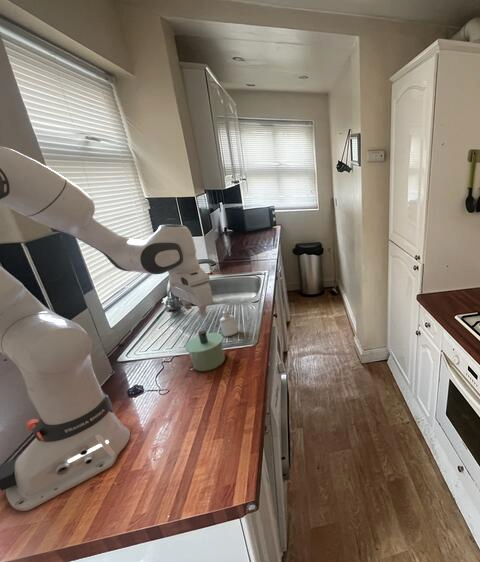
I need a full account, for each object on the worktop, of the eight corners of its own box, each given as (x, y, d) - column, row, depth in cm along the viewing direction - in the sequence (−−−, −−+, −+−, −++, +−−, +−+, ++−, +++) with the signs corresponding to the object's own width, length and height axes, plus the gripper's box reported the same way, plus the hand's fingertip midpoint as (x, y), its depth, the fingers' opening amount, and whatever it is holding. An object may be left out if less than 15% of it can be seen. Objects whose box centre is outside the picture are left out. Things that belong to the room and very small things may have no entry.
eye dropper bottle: (235, 336, 129) (230, 310, 124) (222, 337, 128) (215, 311, 124) (238, 330, 133) (233, 305, 128) (225, 331, 132) (219, 306, 128)
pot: (203, 375, 105) (197, 355, 102) (188, 365, 111) (181, 346, 108) (231, 360, 113) (226, 340, 110) (215, 351, 119) (210, 332, 115)
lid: (197, 358, 101) (193, 345, 99) (179, 347, 108) (175, 335, 106) (230, 341, 111) (227, 329, 109) (212, 332, 117) (208, 320, 115)
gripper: (160, 271, 102) (170, 308, 107) (191, 282, 91) (202, 323, 96) (179, 266, 107) (189, 301, 112) (212, 276, 96) (220, 315, 101)
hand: (195, 312), depth 104 cm, fingers open, 8 cm apart
